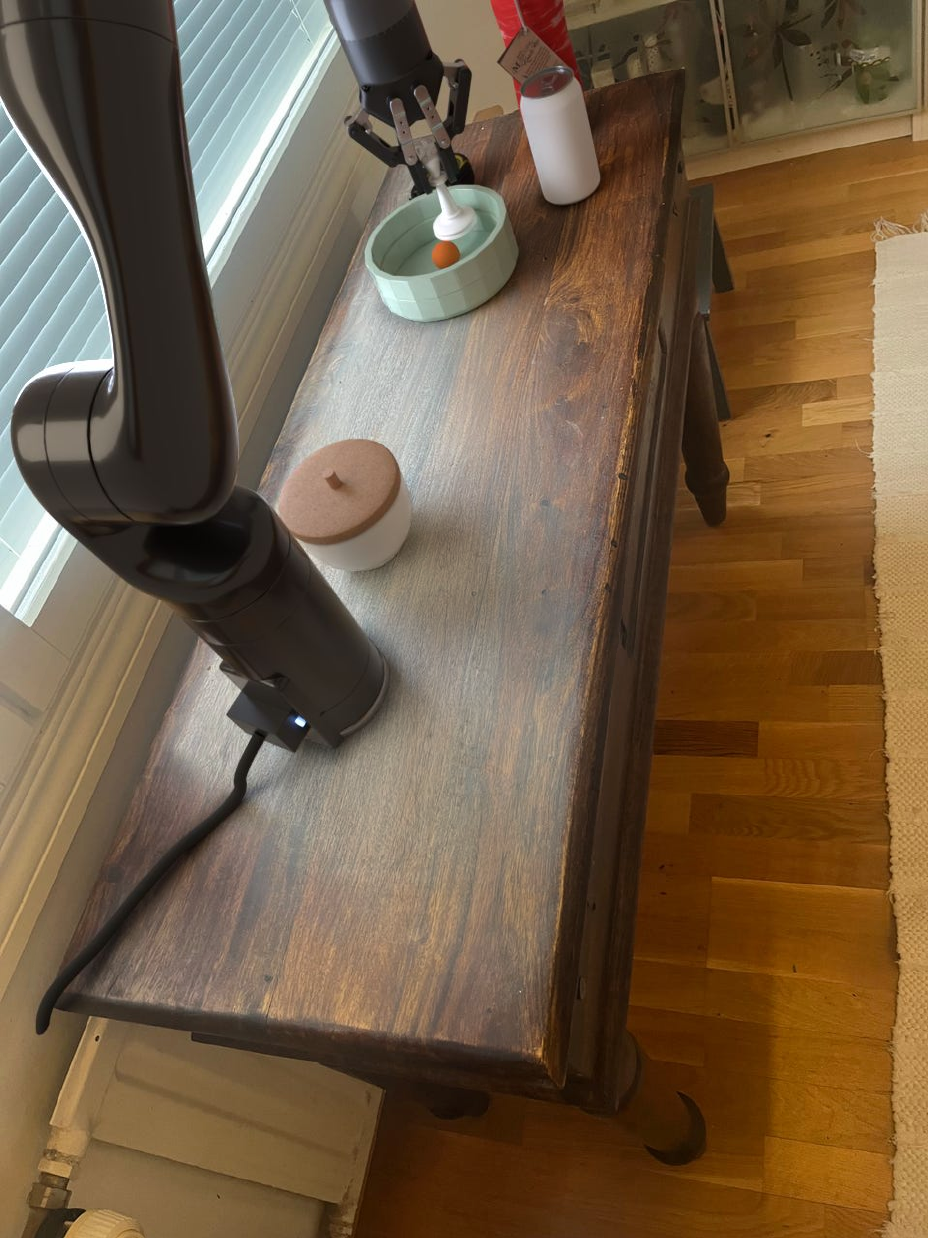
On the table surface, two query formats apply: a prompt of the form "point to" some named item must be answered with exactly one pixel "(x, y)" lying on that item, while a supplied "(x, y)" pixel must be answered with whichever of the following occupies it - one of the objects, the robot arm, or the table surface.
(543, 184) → the can
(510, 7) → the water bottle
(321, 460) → the trinket box
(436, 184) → the chess piece
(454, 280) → the bowl
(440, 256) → the ball
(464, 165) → the tape measure
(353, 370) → the table surface
